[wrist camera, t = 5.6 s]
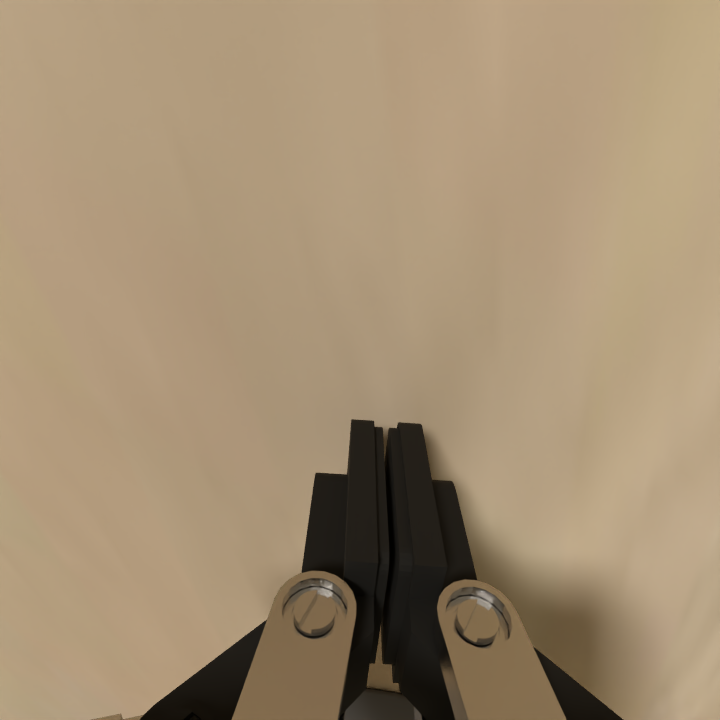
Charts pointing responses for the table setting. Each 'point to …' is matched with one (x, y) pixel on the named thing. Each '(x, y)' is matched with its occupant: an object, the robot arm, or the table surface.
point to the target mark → (380, 706)
